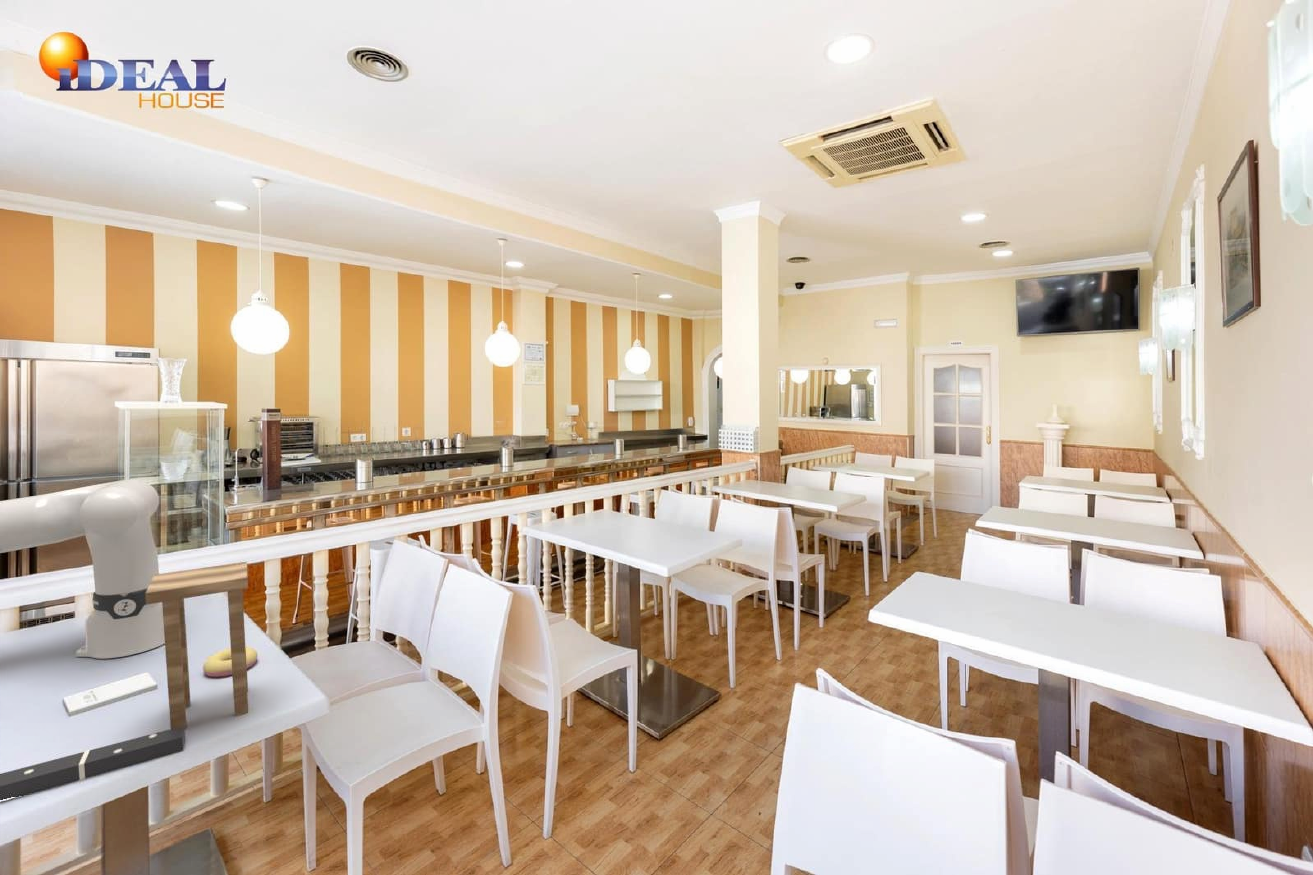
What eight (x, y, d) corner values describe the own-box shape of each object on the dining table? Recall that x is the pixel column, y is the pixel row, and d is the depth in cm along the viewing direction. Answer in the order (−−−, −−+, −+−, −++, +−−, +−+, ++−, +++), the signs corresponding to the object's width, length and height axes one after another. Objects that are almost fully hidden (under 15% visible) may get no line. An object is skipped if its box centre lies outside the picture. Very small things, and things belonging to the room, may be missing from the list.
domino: (-25, 796, 83) (-26, 779, 83) (185, 739, 97) (184, 724, 97) (-36, 813, 80) (-38, 795, 80) (183, 751, 94) (182, 736, 94)
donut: (263, 666, 128) (216, 664, 126) (266, 645, 128) (220, 643, 126) (241, 680, 118) (191, 679, 116) (246, 658, 119) (195, 656, 117)
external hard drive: (157, 691, 114) (69, 719, 104) (147, 678, 118) (62, 704, 109) (157, 683, 113) (69, 710, 104) (147, 671, 118) (62, 696, 108)
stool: (163, 707, 107) (154, 574, 105) (253, 685, 115) (247, 561, 113) (155, 739, 97) (145, 593, 95) (254, 712, 105) (247, 577, 103)
